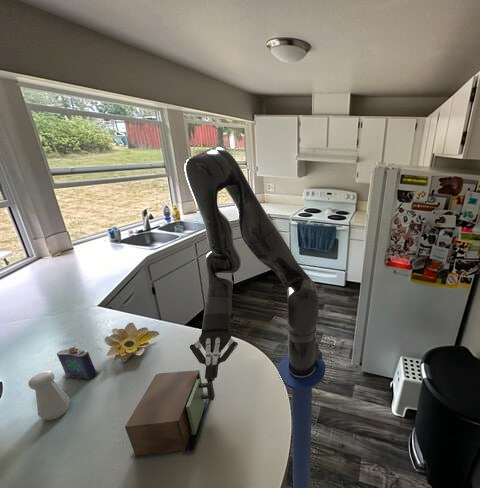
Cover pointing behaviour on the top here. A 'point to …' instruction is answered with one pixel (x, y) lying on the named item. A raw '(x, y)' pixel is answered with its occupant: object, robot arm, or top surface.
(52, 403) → the salt shaker
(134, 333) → the decorative flower
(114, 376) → the top surface
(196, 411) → the sliding door
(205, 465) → the top surface
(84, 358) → the flask
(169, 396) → the cabinet
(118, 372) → the top surface
